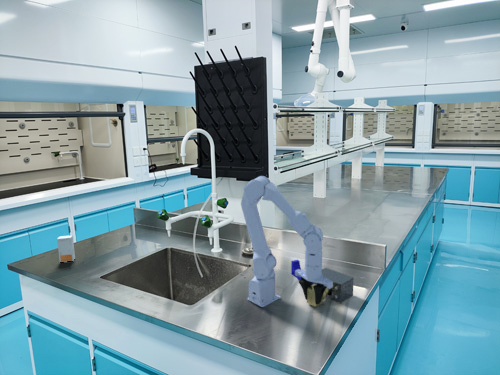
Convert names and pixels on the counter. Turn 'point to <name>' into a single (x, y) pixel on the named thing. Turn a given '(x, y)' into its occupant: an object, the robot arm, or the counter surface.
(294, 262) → the cable clip
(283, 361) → the counter surface
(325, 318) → the counter surface
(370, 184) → the counter surface
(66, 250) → the skincare box
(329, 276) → the block
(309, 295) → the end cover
